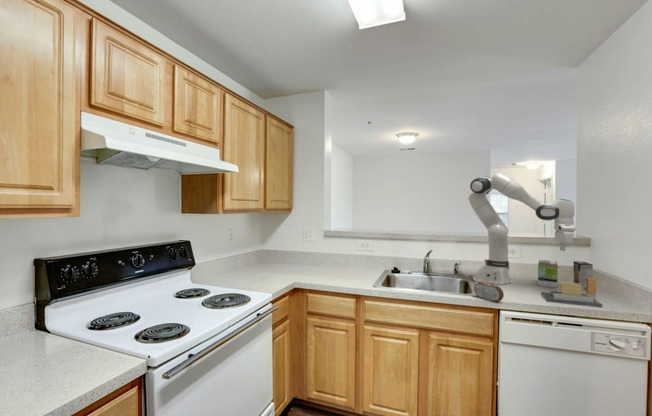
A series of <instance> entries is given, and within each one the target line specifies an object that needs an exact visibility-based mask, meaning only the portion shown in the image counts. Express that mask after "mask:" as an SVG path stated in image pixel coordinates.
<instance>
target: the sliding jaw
mask: <svg viewBox="0 0 652 416" xmlns="http://www.w3.org/2000/svg"><path fill="white" fill-rule="evenodd" d="M596 281H597V279H595V278H586V291H585V292H581V295H582V296H592V297H593V298H594V299H595V300H596V299H597V296H596V295H597V293H596V291H597V289H596V288H597V285H596ZM548 291H549V292H548V293H549V294H550V295H553V293H559V294H560V290H556V289H555V290H554V289H549V290H548Z"/></svg>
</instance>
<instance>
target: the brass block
mask: <svg viewBox="0 0 652 416" xmlns="http://www.w3.org/2000/svg"><path fill="white" fill-rule="evenodd" d="M559 291H560V294H570V295H581V293H582V291H581V284H579V283H574V282H571V281H568V282H567V281H559ZM581 296H582V295H581Z"/></svg>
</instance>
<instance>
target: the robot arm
mask: <svg viewBox="0 0 652 416" xmlns="http://www.w3.org/2000/svg"><path fill="white" fill-rule="evenodd" d="M469 188H470V190H471V192H472V193H470V194H469V195H468V202H469V204H470V206H471V208H472V209H473V211H474V213H475V214H476V216H477V217H478V219H479V221H480V222H481V223H482V224H483V226H484V227H485V228H486V230H487V236H488V237H487V238H488V258H487V259H486V258H485V259H484V263H485V265H484V266H482V267H480V268H478V270H477V271H476V274H475V275H476V276H475V275H474V276H473V277H472V280H473V281H474V282H477V283H479V282H484V283H488V284H493V285H504V284H505V285H507V284H511V283H512V282H511V278H510V273H509V271H510V263H509V246H508V245H509V242H508V241H509V240H508V238H509V237H508V233H509V228H508V227H507V225H506V224H505V222H504V221H503V220H502V218H501V217H500V216H499V214H498V213H497V211H496V210H495V208H494V207H493V205H492V203H491V202H490V201H489V199H488V198H487V195H488V194H489V193H490V192H491V191H492V190H496V191H497V192H499V193H500V194H502V195H503V196H505V197H507V198H510V199H511V200H515V201H518V202H521V203H523V204H525V206H528V207H529V208H530V209H532V210H534V212H535V216H536V217H537V218H538V219H540V220H542V221H548V222H549V221H552V220H553V221H554V222H553V223H554V227H553V229H554V241H556V242H558V244H559V251H561V252H565V251H566V247H567V245H573V243H574V237H575V232H576V227H575V221H574V216H575V204H574V201H571V200H569V199H565V198H564V199H563V198H557V199H556V200H553V201H552V202H549V203H544V202H542V201H540V200H538V199H537V198H536V197H534V196H533V195H531V194H530V193H529V192H528V191H527V190H526V189H525V187H523V185H521V184H520V183H519V181H516V180H515V179H514V178H512V177H511V176H508V175H506V174H504V173H501V172H496V173H494V174H493V175H492V176H491V177H489V176H479V177H476V178H474V179H473V180H472V181H471V182H470V184H469Z"/></svg>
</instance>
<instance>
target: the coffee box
mask: <svg viewBox="0 0 652 416" xmlns="http://www.w3.org/2000/svg"><path fill="white" fill-rule="evenodd" d="M593 267H594V266H593V264H592V263H589V262H586V261H578V260H576V261H575V260H574V261H573V283H579V284H581V292H586V278H593V273H594V272H593Z"/></svg>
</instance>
